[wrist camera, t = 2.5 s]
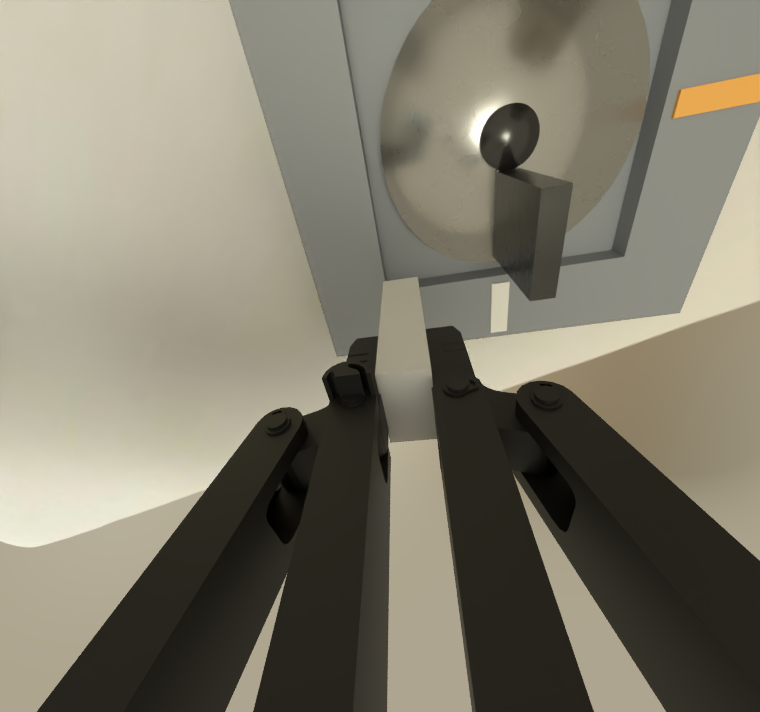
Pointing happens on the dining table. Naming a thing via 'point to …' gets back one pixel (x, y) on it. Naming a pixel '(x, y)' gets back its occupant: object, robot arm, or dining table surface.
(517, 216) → the dial
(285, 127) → the panel
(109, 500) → the dining table surface
